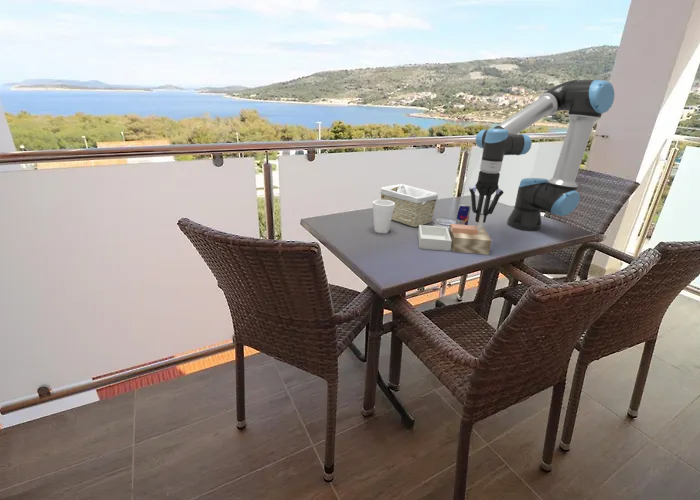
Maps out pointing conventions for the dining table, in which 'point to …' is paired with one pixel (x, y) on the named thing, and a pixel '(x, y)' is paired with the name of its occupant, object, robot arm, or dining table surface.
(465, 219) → the energy drink
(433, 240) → the box
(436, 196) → the storage basket
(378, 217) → the foam cup
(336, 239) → the dining table surface
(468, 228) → the tile
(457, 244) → the tan wooden block
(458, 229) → the tile
